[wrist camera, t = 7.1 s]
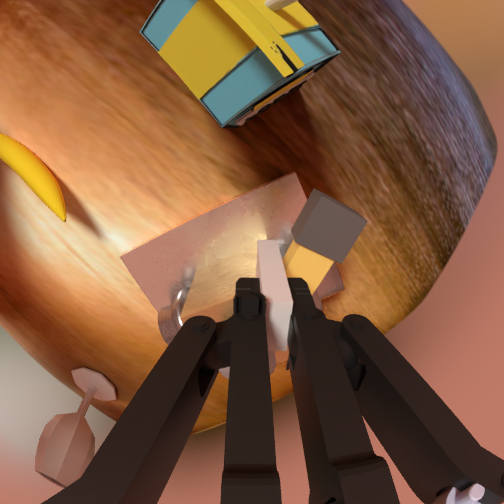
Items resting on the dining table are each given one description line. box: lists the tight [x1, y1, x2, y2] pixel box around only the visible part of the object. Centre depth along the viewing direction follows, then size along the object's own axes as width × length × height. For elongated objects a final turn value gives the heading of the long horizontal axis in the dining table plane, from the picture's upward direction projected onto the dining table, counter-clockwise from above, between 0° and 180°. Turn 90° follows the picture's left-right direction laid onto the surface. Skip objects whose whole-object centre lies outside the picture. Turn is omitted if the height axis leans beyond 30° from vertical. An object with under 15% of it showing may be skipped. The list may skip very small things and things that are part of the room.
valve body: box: [120, 171, 344, 379], centre depth 26 cm, size 20×13×10 cm, turn 115°
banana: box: [0, 133, 66, 222], centre depth 22 cm, size 3×19×6 cm, turn 51°
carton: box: [140, 0, 341, 128], centre depth 14 cm, size 7×8×18 cm
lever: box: [219, 188, 367, 379], centre depth 19 cm, size 15×4×2 cm, turn 155°
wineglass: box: [35, 367, 117, 488], centre depth 30 cm, size 9×9×21 cm
